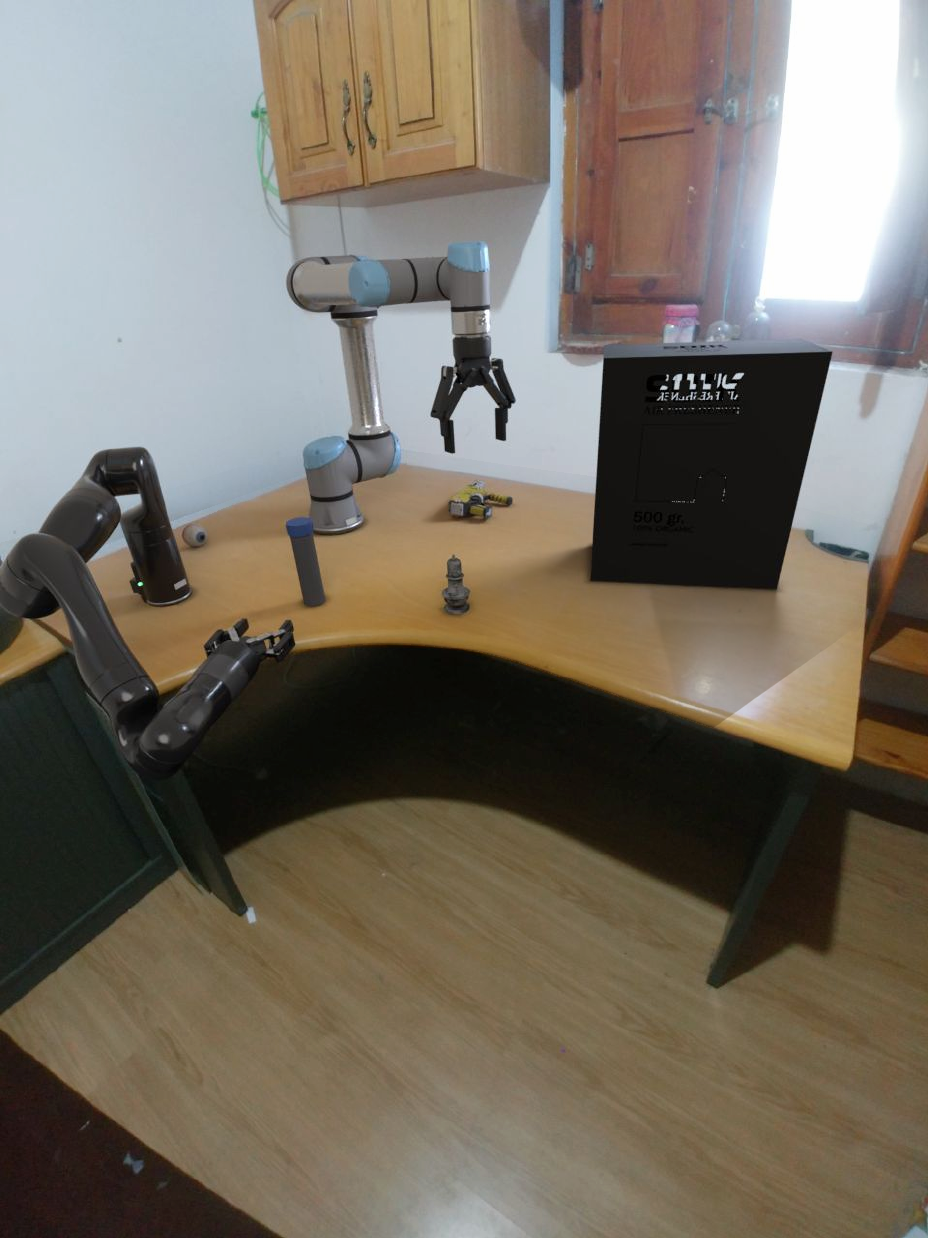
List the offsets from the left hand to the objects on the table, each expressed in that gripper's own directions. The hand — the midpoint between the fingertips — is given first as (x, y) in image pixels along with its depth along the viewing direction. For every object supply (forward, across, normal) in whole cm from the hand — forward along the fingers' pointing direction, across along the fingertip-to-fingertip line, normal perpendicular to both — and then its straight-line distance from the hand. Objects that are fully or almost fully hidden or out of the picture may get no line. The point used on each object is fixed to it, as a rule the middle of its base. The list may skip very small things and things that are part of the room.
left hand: (268, 623), depth 110 cm
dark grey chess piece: (+19, +31, -6) cm, 37 cm away
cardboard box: (+42, +78, -6) cm, 89 cm away
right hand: (+40, +34, +22) cm, 56 cm away
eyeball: (+48, -44, -6) cm, 65 cm away
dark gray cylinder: (+20, 0, -6) cm, 21 cm away
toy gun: (+80, +30, -6) cm, 85 cm away
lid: (+20, 0, +12) cm, 23 cm away
